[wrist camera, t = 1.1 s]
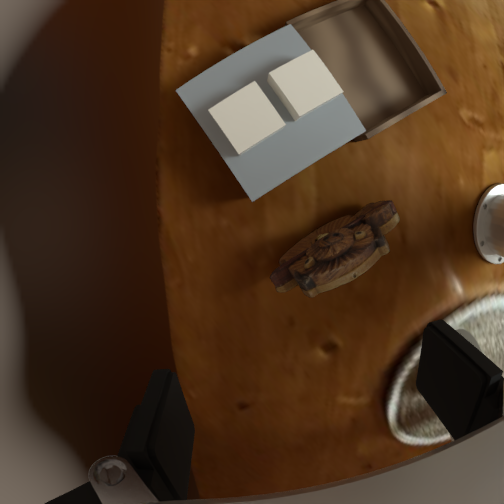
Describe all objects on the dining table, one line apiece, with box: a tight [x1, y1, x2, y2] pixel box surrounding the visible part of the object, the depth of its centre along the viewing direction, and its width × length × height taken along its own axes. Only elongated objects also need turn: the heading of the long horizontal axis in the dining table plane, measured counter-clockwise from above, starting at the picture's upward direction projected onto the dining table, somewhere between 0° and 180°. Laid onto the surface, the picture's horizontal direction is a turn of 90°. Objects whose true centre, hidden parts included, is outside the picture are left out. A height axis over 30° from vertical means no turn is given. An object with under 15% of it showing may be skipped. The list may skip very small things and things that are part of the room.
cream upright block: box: [208, 81, 286, 155], centre depth 28 cm, size 5×5×3 cm
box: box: [285, 0, 447, 142], centre depth 31 cm, size 13×16×4 cm
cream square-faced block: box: [267, 50, 343, 121], centre depth 27 cm, size 5×5×3 cm
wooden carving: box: [270, 201, 400, 297], centre depth 34 cm, size 16×5×10 cm, turn 126°
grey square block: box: [176, 24, 366, 202], centre depth 32 cm, size 14×14×6 cm
